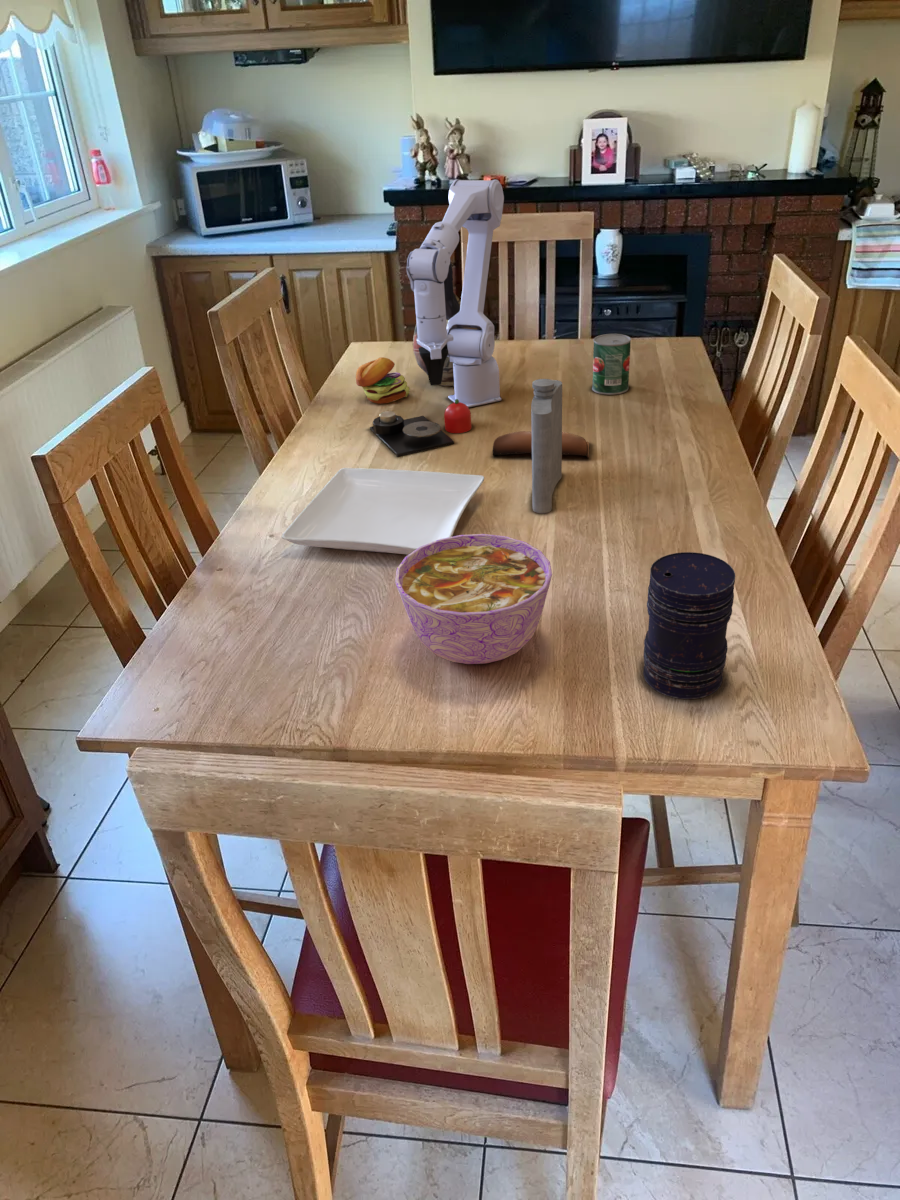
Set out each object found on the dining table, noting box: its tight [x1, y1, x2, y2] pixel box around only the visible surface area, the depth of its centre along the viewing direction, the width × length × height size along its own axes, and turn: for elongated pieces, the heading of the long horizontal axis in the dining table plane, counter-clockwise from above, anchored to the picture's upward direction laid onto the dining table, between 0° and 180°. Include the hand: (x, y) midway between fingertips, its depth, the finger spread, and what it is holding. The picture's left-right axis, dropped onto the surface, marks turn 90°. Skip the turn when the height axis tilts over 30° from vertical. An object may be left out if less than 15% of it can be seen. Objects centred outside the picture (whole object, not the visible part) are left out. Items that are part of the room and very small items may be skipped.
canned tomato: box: [591, 333, 632, 396], centre depth 199 cm, size 8×8×11 cm
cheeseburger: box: [355, 356, 411, 405], centre depth 203 cm, size 10×11×10 cm
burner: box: [403, 420, 442, 437], centre depth 183 cm, size 8×8×1 cm
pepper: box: [443, 399, 472, 434], centre depth 186 cm, size 5×5×6 cm
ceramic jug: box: [412, 258, 479, 387], centre depth 204 cm, size 17×15×30 cm
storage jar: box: [642, 551, 736, 700], centre depth 111 cm, size 10×10×15 cm
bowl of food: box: [394, 533, 553, 665], centre depth 120 cm, size 20×20×12 cm
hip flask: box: [530, 378, 563, 514], centre depth 155 cm, size 16×4×20 cm, turn 167°
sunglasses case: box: [492, 430, 590, 458], centre depth 174 cm, size 18×7×7 cm
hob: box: [369, 414, 455, 457], centre depth 185 cm, size 12×16×3 cm
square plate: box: [281, 467, 485, 555], centre depth 153 cm, size 27×27×4 cm
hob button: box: [379, 410, 397, 424], centre depth 186 cm, size 3×3×2 cm
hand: (435, 383), depth 182 cm, fingers closed
